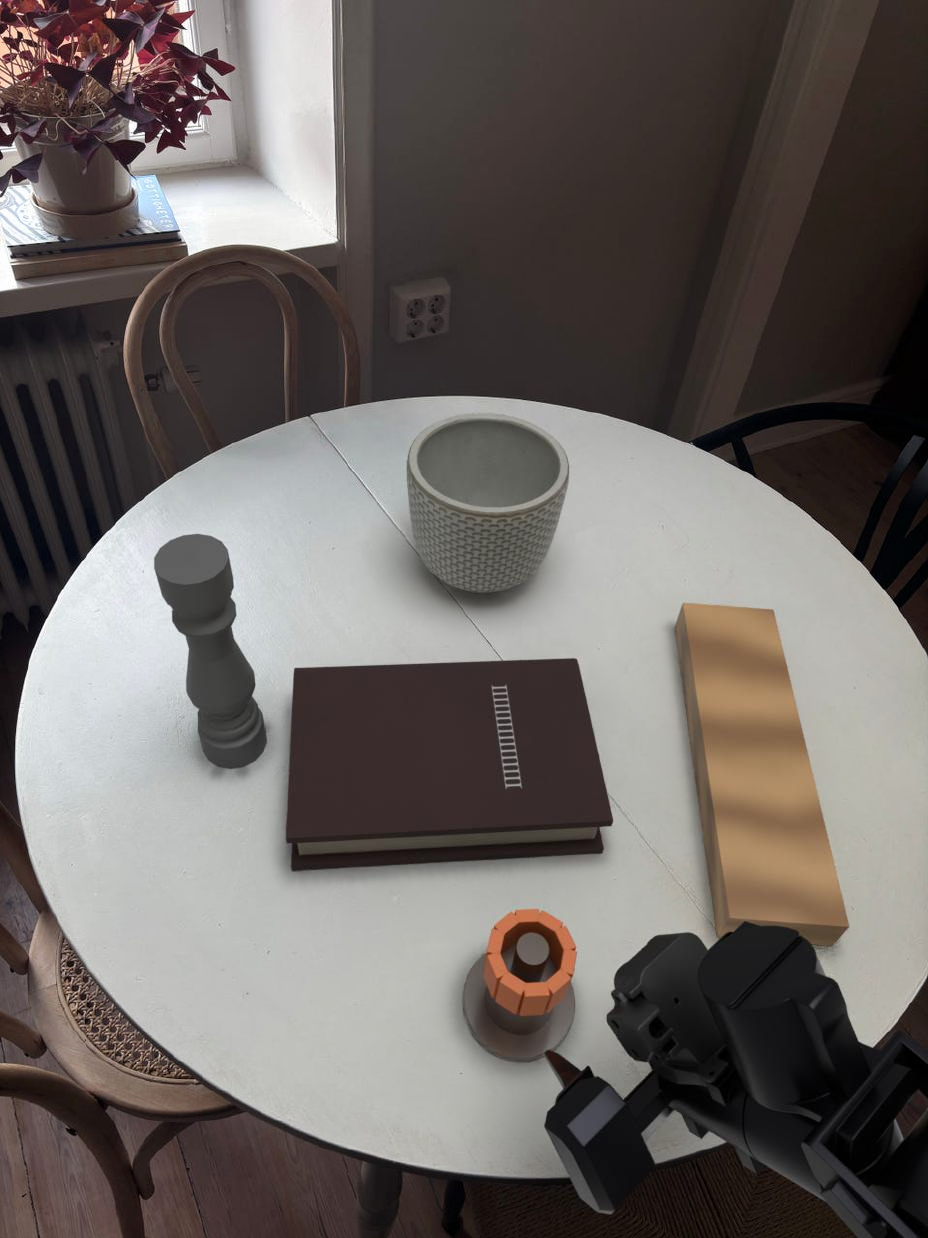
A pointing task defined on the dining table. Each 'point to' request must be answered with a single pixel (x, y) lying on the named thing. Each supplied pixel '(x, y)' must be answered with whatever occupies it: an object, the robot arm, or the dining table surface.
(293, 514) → the dining table surface
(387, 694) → the book
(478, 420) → the planter
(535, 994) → the ring
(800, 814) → the wooden board
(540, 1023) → the peg stand
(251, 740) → the candle holder
